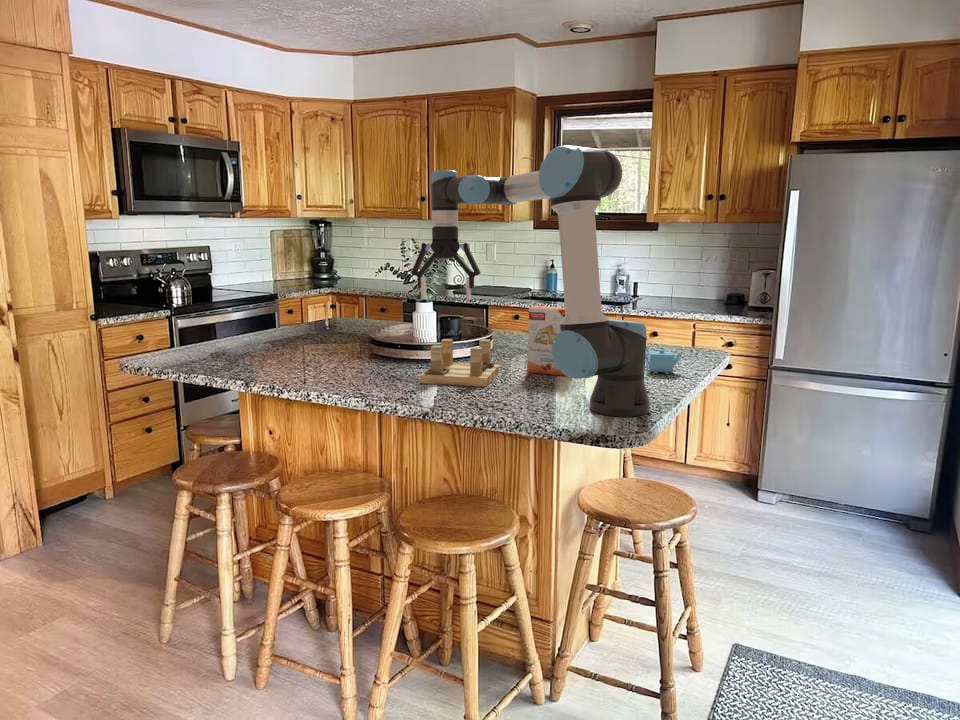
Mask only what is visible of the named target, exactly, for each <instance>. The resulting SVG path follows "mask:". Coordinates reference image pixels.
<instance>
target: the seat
mask: <svg viewBox="0 0 960 720" xmlns="http://www.w3.org/2000/svg"><path fill="white" fill-rule="evenodd" d="M440 346H443V372H431V366H430V367H428V368H427V369H426V370H425V371H423V372H422V373H421V374H420V376H419V377H420V378H419V379H420V384H428V385H429V384H431V385H432V384H433V385H447V386H448V385H450V386H468V387H469V386H470V387H487V388H488V386H489V385H490V384H491V382H492V381H494V379H495V378H496V377H497V376H498V375H499V373H500V364H495V361H494V360H492V361H491V362H490V363H489V367H487V368H486V369H485V370H482V357H483V347H479V346H472V347H471V348H470V349H469V350H470V351H469V352H470V355H469V356H470V359H469V360H470V362H454V339H453V338H443V339H441V340H440Z"/></svg>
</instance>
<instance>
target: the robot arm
mask: <svg viewBox="0 0 960 720" xmlns="http://www.w3.org/2000/svg"><path fill="white" fill-rule="evenodd" d="M539 167H540V168H539V170H537V171H536V170H535V171H532V172H526V173H519V174H513V175H510V176H503V177H491V176H482V175H479V174H468V175H463V176H459V175H458V171H456V170H453V169H441V170H440V169H439V170H434V171H432V174H431V184H430V187H431V189H430V190H431V224H432V228H431V233H432V234H431V243H427V242H422V243H421V244H420V245H421V246H420V247H421V248H420V252H419V254H418V256H417V258H416V260H415V262H414V265H413V267H412V269H411V271H410V272H411V275H413V276H416V277H417V288H419V289H420V299H421V300H426V299H427V284H426V283H427V282H426V281H427V280H426V276H424V275H425V273H426V272H427V271H428V269H429V268H430V267H431V266H432V264H434V262H435V261H436V260H437V259H452V258H453V259H454V260H455V261H456V262H457V264H458V265H459V266H460V267H461V268H462V270H463V271H464V272H465V273H466V275H468V276H467V277H466V284H465V285H466V287H465V288H466V289H465V290H466V291H465V293H466V299H465V300H466V301H470V300H472V297H471V296H472V294H471V293H472V289H474V287H475V277H477V276H479V275H480V274H481V270H480V268H479V266H478V264H477V263H476V260H475V258H474V256H473V253H472V252H471V246H470V243H469V242H464V243H459V228H458V226H457V225H458V224H459V208H458V206H459V205H497V206H498V205H502V206H511V205H516V204H518V203H521V202H529V201H530V202H531V201H540V200H547V199H550V208H551V209H552V210H553V211H554V212H555V213H556V214H557V217H558V231H559V232H558V233H559V243H560V244H559V245H560V257H561V269H562V270H561V271H562V285H563V286H562V288H563V297H564V298H563V299H564V308H565V314H566V315H565V317H564V318H563V320H562V321H561V322H560V333H559V334H558V335H557V336H556V337H555V340H554V341H553V343H552V356H553V359H554V362H555V364H556V366H557V367H558V369H560V370H561V371H562V373H563V374H565V375H566V376H565V377H569V379H570V378H571V379H576V380H577V379H590V378H592V377H595V376H596V377H597V379H596V383H595V385H594V388H593V390H592V392H591V393H592V394H591V396H590V397H589V409H590V410H591V411H593V412H595V413H597V414H601V415H604V416H610V417H625V418H626V417H630V418H631V417H639V416H644V415H646V414H648V413H650V410H651V408H650V406H651V402H650V397H649V394H648V391H647V387H646V383H645V367H646V359H645V355H646V354H647V353H646V351H647V350H646V349H647V340H648V337H647V327H646V325H645V324H644V323H642V322H641V321H639V322H638V321H632V320H623V319H614V318H608V317H607V316H606V315H605V314H603V312H602V300H601V299H602V298H601V282H600V268H599V267H600V266H599V253H598V252H599V251H598V240H597V227H596V226H597V223H596V210H597V208H598V207H599V206H600V205H601V202H602V201H601V199H603V198H606V197H609V196H610V195H612V194H613V193H615V192H616V190H618V188H619V186H620V184H621V182H622V179H623V178H622V177H623V168H622V164H621V162H620V160H619V158H618V157H617V156H616V155H615V154H614V153H613V152H611V151H608V150H607V149H603V148H592V147H584V146H577V145H574V144H573V145H559V146H557V147H554V148H553V149H552V150H550V151H549V152H548V153H547V154H546V155H545V158H544V159H543V160H542V162H541V164H540V166H539ZM430 249H431V250H432V251H433V253H432V254H431V256H430V257H429V258H428V259H427V261H426V262H425V263H424V265H423V266H422V267H421V265H422V263H423V261H424V259H425V257H426V255H427V252H428V251H429V250H430ZM460 249H461V251H463V252H464V254H465V256H466V258H467V260H468V263H469V264H470V266H471V268H472V269H471V268H470V266H469V265H468V264H467V263H466V262H465V261H464V260H463V258H462V257H461V256H460V254H459V253H458V251H459V250H460Z"/></svg>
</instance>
